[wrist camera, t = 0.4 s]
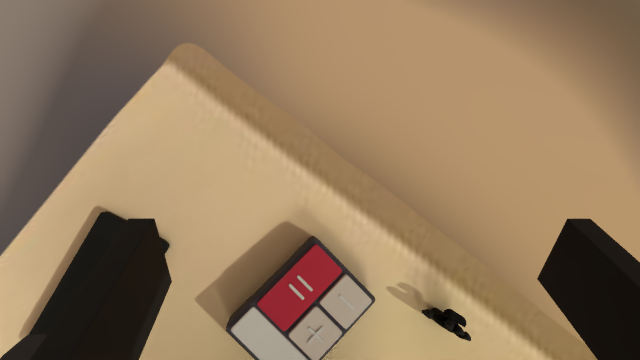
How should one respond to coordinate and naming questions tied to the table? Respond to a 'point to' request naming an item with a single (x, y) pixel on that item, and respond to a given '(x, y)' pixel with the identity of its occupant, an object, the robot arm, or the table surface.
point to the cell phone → (82, 268)
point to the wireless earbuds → (448, 321)
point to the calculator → (301, 308)
